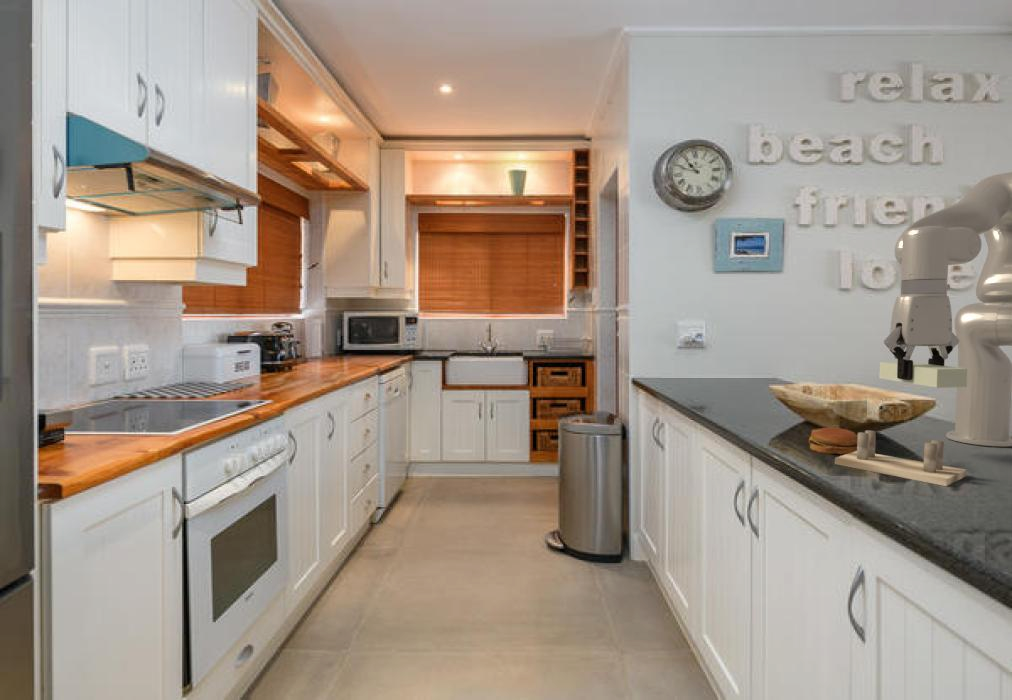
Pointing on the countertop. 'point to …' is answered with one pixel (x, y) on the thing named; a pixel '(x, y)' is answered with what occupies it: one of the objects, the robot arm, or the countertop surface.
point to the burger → (833, 441)
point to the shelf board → (927, 375)
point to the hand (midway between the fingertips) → (920, 378)
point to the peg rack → (902, 462)
